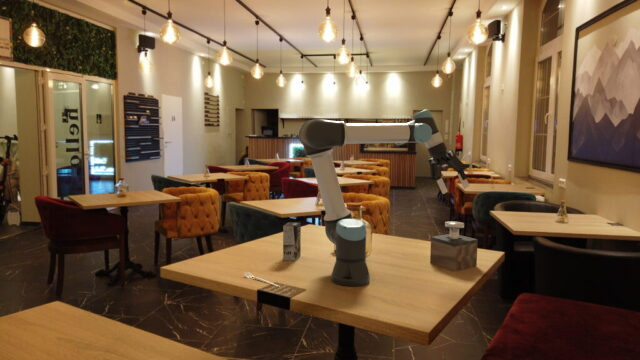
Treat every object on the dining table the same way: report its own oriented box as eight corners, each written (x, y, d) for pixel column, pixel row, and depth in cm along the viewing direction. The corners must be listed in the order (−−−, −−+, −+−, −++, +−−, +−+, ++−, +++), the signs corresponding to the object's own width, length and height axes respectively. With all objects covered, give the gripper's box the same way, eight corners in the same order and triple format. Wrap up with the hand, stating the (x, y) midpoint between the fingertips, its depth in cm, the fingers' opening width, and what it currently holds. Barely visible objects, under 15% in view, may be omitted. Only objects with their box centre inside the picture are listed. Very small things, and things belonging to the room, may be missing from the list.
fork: (277, 289, 170) (277, 285, 170) (242, 277, 183) (242, 272, 183) (283, 287, 173) (283, 282, 172) (248, 275, 186) (248, 271, 185)
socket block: (454, 271, 192) (455, 243, 191) (430, 262, 204) (431, 236, 203) (476, 266, 200) (477, 239, 198) (452, 258, 212) (453, 233, 210)
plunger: (454, 254, 196) (455, 225, 195) (440, 250, 203) (441, 222, 201) (466, 252, 200) (468, 223, 199) (453, 248, 207) (454, 220, 206)
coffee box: (296, 261, 206) (296, 226, 204) (282, 260, 207) (282, 225, 205) (301, 255, 215) (301, 222, 213) (288, 255, 216) (288, 221, 214)
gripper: (461, 133, 185) (482, 181, 184) (423, 149, 207) (442, 191, 207) (448, 139, 181) (470, 188, 181) (411, 154, 204) (431, 198, 203)
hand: (455, 190), depth 194 cm, fingers open, 13 cm apart
